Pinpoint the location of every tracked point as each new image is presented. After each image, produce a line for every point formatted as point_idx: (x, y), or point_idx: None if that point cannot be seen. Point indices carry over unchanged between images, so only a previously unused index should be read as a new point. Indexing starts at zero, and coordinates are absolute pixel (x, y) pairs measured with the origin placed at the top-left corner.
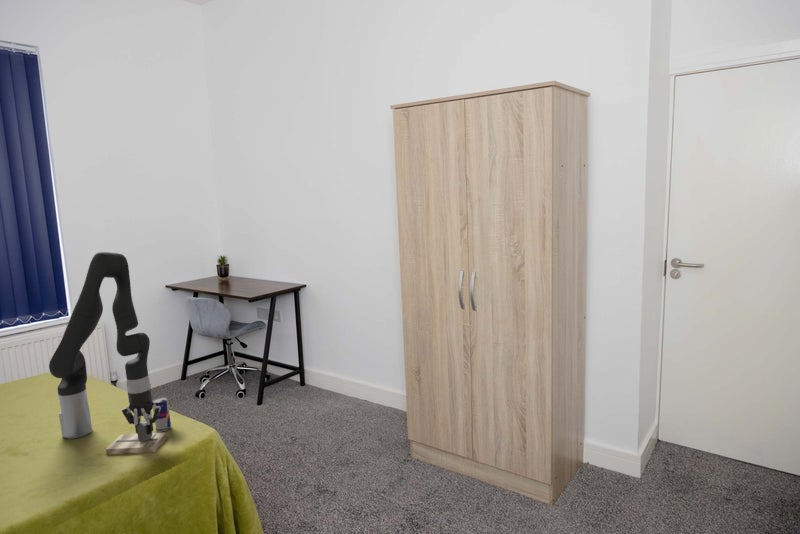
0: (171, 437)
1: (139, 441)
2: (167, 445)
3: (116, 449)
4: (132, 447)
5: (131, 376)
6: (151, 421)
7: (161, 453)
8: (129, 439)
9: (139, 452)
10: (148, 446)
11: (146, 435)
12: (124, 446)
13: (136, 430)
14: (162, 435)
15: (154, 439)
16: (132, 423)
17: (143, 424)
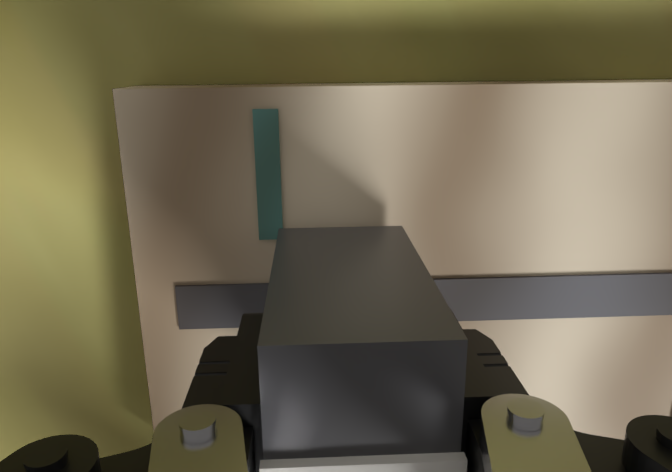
0: (121, 436)
1: (391, 226)
2: (58, 252)
3: (661, 81)
4: (440, 98)
5: None
6: (95, 465)
7: (13, 38)
8: (577, 333)
9: (336, 83)
10: (201, 105)
11: (273, 264)
12: (572, 139)
13: (487, 356)
14: (167, 409)
15: (216, 304)
16: (617, 442)
17: (338, 420)
